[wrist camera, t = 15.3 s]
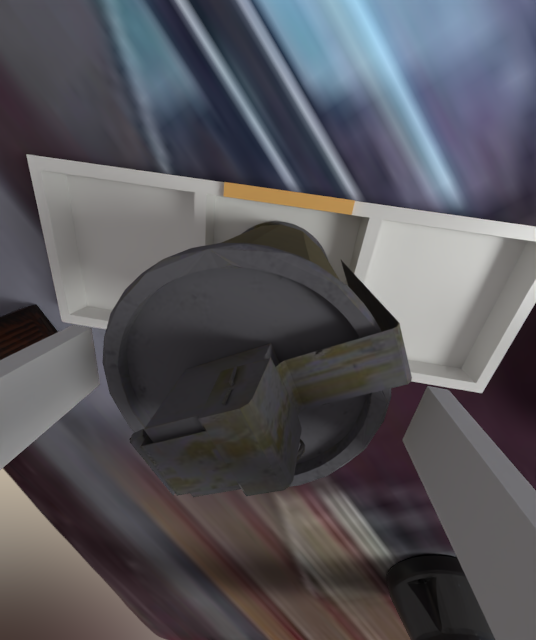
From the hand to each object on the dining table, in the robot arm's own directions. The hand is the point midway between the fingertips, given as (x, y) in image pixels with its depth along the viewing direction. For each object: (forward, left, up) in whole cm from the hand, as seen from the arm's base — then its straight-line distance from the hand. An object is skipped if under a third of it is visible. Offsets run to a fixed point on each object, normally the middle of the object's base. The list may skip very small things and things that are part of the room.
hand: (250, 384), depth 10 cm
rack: (0, 0, -17) cm, 17 cm away
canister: (0, 0, -17) cm, 17 cm away
